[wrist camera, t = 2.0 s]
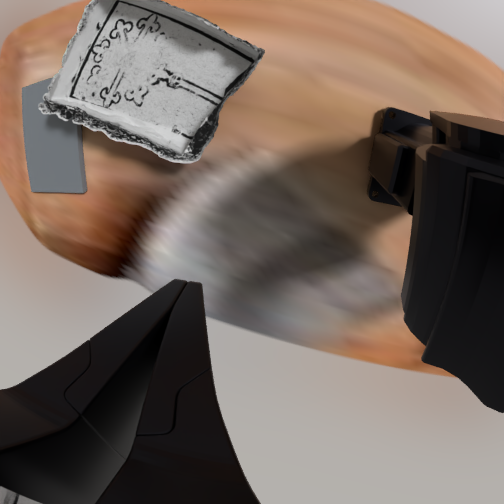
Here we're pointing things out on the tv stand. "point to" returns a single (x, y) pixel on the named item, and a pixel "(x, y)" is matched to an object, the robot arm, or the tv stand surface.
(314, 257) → the tv stand surface
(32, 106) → the mat
